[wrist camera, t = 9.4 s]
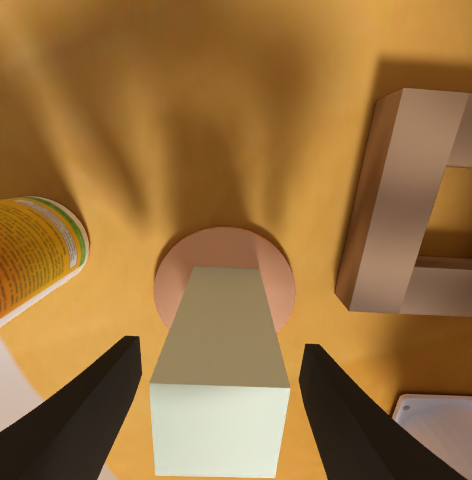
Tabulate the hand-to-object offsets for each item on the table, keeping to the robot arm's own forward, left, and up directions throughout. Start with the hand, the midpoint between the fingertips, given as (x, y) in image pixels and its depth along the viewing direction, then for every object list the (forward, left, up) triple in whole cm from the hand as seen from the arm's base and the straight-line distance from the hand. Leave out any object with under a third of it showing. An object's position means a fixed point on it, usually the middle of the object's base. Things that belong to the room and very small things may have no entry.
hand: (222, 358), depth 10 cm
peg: (0, 0, -5) cm, 5 cm away
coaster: (0, 0, -6) cm, 6 cm away
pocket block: (+6, -13, -6) cm, 15 cm away
